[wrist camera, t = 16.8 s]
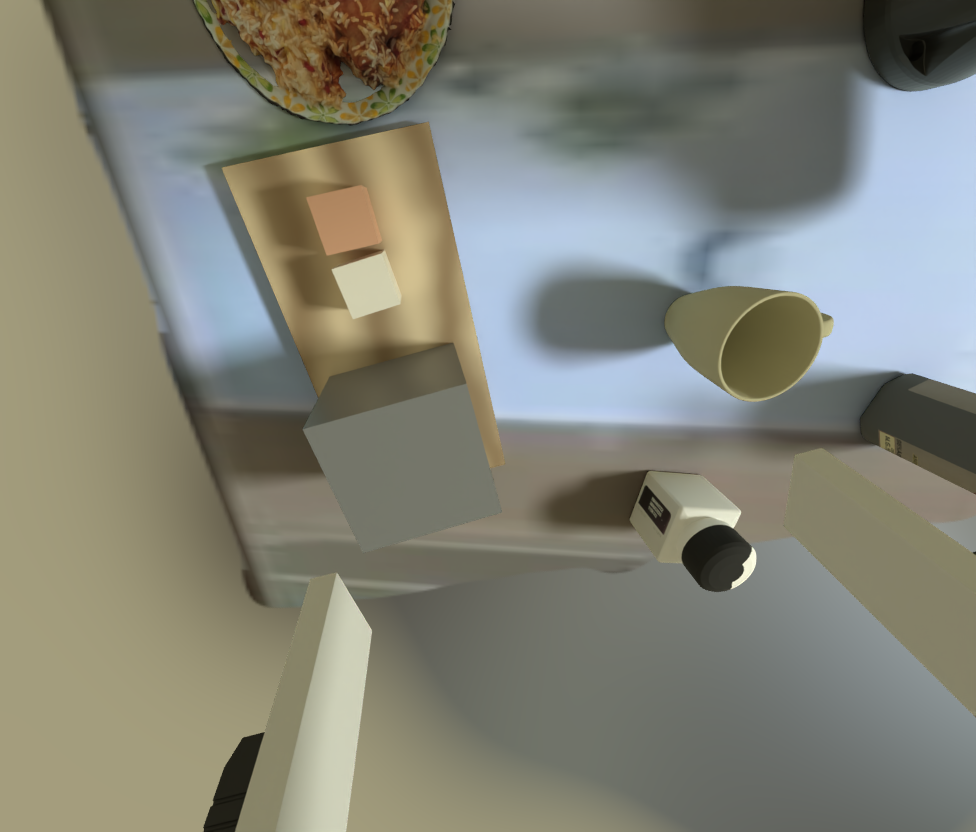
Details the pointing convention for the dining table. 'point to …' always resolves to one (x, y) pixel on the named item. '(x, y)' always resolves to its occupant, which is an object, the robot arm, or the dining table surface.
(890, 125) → the dining table surface
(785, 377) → the mug
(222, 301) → the dining table surface
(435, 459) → the grey matte cube
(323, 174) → the board
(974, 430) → the liquor
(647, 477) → the container
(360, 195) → the terracotta block
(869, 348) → the dining table surface
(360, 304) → the white block
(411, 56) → the food
